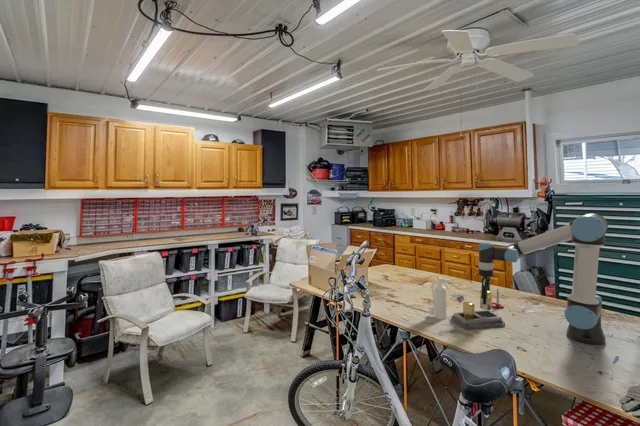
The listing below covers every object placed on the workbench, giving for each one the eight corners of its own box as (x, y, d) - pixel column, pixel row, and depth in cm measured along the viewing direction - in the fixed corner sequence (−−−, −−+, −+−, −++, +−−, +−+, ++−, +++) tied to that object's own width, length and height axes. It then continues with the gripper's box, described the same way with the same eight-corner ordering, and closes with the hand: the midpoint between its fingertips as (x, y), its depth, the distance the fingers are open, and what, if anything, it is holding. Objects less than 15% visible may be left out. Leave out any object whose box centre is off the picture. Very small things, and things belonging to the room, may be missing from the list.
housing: (505, 326, 174) (505, 305, 174) (466, 330, 171) (466, 309, 170) (487, 315, 189) (487, 296, 188) (451, 319, 186) (451, 299, 185)
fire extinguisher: (429, 313, 196) (430, 275, 193) (449, 316, 190) (451, 277, 188) (427, 317, 190) (428, 278, 187) (448, 321, 184) (450, 280, 182)
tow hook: (486, 303, 210) (491, 308, 201) (485, 285, 210) (491, 288, 201) (499, 304, 209) (505, 308, 199) (499, 285, 208) (505, 289, 199)
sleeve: (494, 309, 178) (494, 292, 177) (484, 310, 177) (484, 293, 176) (487, 305, 184) (487, 289, 183) (477, 306, 183) (478, 290, 182)
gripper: (490, 273, 169) (490, 314, 171) (495, 266, 184) (495, 303, 186) (475, 271, 174) (475, 311, 175) (481, 264, 189) (481, 301, 190)
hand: (485, 307), depth 180 cm, fingers closed on sleeve, 6 cm apart
